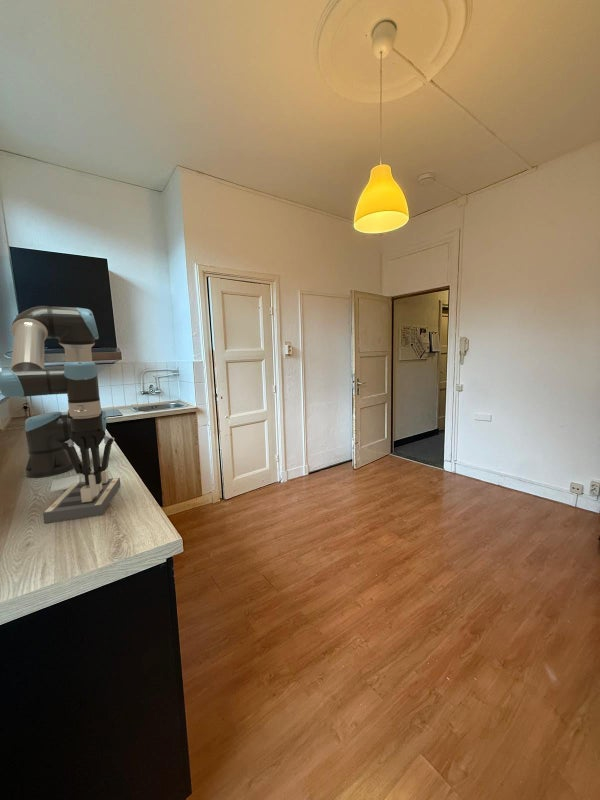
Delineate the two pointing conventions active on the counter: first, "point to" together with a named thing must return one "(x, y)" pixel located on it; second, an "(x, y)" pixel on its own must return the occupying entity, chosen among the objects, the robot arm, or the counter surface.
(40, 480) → the counter surface
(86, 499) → the tab
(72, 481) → the hard drive
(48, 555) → the counter surface
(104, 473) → the tab
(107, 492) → the switch panel
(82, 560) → the counter surface
